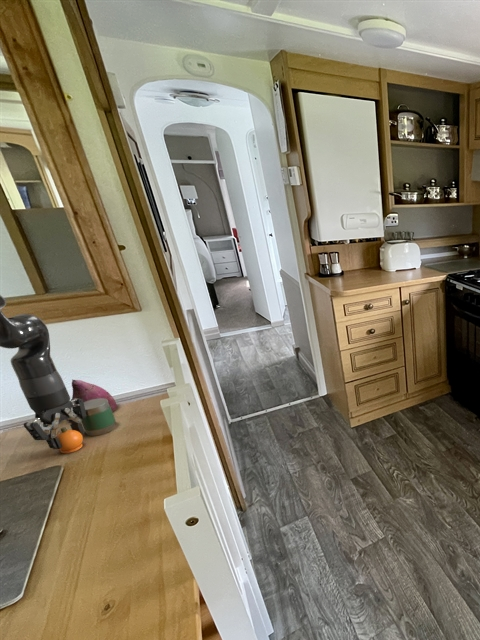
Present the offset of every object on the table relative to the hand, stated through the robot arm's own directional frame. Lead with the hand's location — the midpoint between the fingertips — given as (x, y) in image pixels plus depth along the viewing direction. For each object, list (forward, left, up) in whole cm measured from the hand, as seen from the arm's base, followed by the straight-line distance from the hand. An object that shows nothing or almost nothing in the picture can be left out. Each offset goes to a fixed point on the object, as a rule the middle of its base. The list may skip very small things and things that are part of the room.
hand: (68, 441), depth 106 cm
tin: (0, +10, -3) cm, 10 cm away
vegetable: (-10, +20, -3) cm, 22 cm away
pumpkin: (0, 0, -3) cm, 3 cm away
